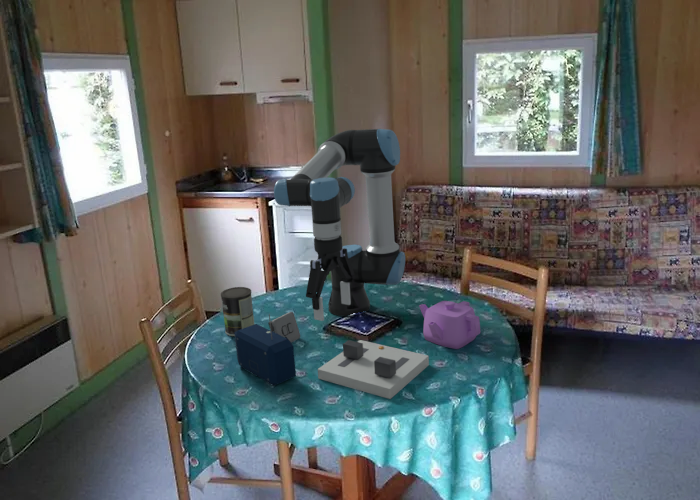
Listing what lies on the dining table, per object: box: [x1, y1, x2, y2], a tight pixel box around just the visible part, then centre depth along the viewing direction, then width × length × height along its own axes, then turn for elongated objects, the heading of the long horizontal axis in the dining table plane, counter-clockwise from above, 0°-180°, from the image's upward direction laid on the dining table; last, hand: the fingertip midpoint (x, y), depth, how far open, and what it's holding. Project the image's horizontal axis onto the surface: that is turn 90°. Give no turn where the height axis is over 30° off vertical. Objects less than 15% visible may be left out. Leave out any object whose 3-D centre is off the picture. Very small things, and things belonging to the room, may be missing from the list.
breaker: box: [374, 357, 396, 378], centre depth 174 cm, size 3×5×4 cm, turn 56°
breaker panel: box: [317, 339, 430, 400], centre depth 183 cm, size 22×24×3 cm
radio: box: [234, 313, 297, 387], centre depth 184 cm, size 21×9×20 cm, turn 42°
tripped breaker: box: [342, 339, 363, 360], centre depth 186 cm, size 3×5×4 cm, turn 56°
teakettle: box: [418, 300, 481, 350], centre depth 200 cm, size 17×17×12 cm
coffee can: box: [220, 286, 255, 337], centre depth 216 cm, size 10×10×14 cm
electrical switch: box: [268, 311, 301, 344], centre depth 206 cm, size 9×5×9 cm, turn 141°
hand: (333, 311), depth 175 cm, fingers open, 12 cm apart
